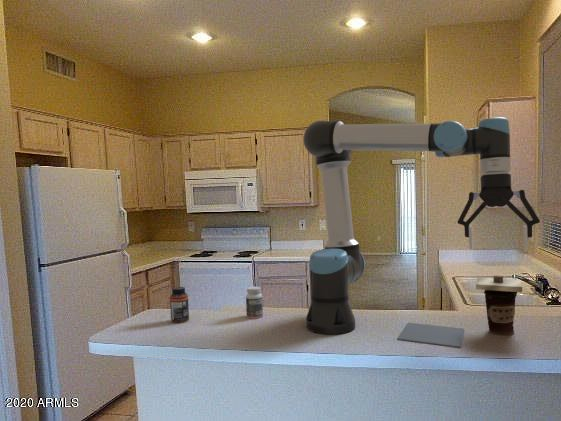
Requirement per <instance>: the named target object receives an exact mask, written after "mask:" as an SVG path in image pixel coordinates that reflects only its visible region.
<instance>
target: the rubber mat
mask: <svg viewBox="0 0 561 421" xmlns="http://www.w3.org/2000/svg"><path fill="white" fill-rule="evenodd" d="M464 329H465V328H464V327H463V328H462V327H456V326H455V327H453V326H445V325H436V324H435V325H434V324H424V323H416V322H407V323H406V325H405V326H404V327H403V329H402V330H401V332H400V333H399V335H398V336H397V338H396V340H397V341H405V342H414V343H421V344H428V345H429V344H430V345H436V346H437V345H438V346H442V347H444V346H445V347H451V348H452V347H453V348H458V349H460V348H461V347H462V342H463V340H464V339H463V337H464V334H465V330H464Z"/></svg>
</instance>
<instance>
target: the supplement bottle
mask: <svg viewBox="0 0 561 421" xmlns="http://www.w3.org/2000/svg"><path fill="white" fill-rule="evenodd" d="M169 301H170V302H169V303H170V322H172V323H173V322H174V324H181V323H180V322H183V323H186V322H188V321H189V320H190V314H189V313H190V311H189V310H190V309H189V295H188V293H187V292H186V288H185V286H176V287H173V288H172V294H171V295H170V296H169ZM187 320H188V321H187ZM185 321H186V322H185Z"/></svg>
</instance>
